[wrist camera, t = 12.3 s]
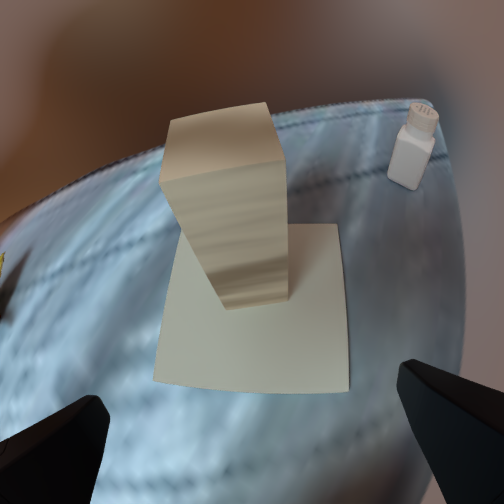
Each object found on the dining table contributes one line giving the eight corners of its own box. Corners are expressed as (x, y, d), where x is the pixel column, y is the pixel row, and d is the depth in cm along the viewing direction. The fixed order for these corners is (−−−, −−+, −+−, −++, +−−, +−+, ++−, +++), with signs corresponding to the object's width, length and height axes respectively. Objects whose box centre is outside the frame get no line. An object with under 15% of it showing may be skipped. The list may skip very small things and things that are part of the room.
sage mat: (347, 392, 18) (348, 391, 18) (155, 381, 20) (152, 380, 19) (336, 227, 26) (337, 223, 25) (183, 229, 28) (182, 226, 27)
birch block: (288, 301, 22) (285, 159, 10) (226, 310, 22) (158, 182, 10) (278, 248, 25) (265, 102, 13) (222, 257, 25) (170, 120, 13)
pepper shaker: (384, 178, 29) (402, 108, 21) (393, 161, 30) (410, 96, 22) (414, 194, 27) (440, 126, 19) (422, 175, 28) (444, 111, 20)
